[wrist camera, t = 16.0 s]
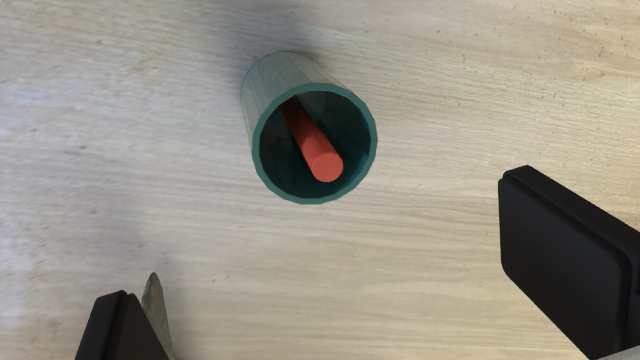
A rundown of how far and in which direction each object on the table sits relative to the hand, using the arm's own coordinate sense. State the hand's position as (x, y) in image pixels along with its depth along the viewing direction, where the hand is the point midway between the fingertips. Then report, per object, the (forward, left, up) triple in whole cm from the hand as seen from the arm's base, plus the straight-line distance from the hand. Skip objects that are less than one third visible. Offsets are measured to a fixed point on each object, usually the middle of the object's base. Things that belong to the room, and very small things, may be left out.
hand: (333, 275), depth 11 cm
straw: (+2, +2, -25) cm, 25 cm away
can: (+2, +2, -26) cm, 26 cm away
